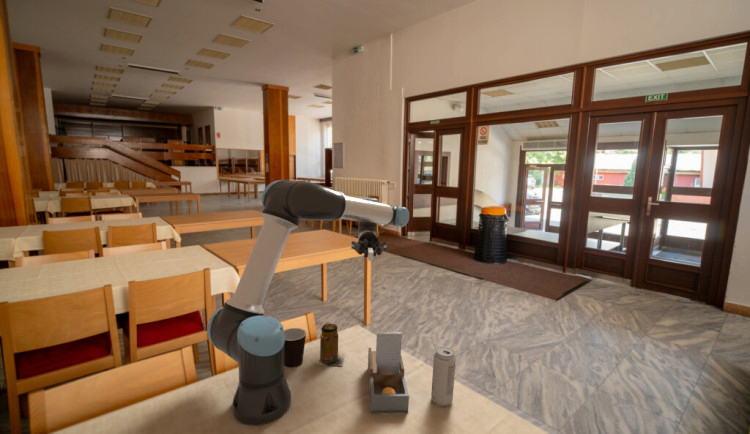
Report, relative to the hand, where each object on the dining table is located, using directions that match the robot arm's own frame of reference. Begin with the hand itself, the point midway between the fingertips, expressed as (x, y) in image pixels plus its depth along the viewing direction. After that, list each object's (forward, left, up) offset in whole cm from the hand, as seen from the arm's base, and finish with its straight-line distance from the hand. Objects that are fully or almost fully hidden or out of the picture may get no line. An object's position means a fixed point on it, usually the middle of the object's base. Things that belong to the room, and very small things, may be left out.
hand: (370, 256), depth 108 cm
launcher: (+7, -5, -38) cm, 38 cm away
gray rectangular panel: (+8, -12, -31) cm, 34 cm away
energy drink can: (+24, -11, -38) cm, 46 cm away
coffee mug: (-25, -2, -38) cm, 45 cm away
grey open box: (+9, -15, -38) cm, 41 cm away
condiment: (-13, +1, -38) cm, 40 cm away
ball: (+10, -16, -35) cm, 39 cm away
